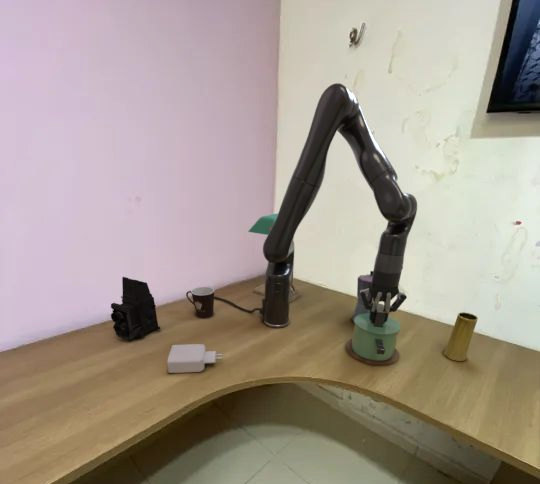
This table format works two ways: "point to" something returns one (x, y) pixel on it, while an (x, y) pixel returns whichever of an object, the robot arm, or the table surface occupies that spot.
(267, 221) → the banker's lamp
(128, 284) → the camera
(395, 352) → the trivet
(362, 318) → the pot
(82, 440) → the table surface
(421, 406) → the table surface
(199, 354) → the charger
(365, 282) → the moka pot
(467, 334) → the vase
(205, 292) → the coffee mug
